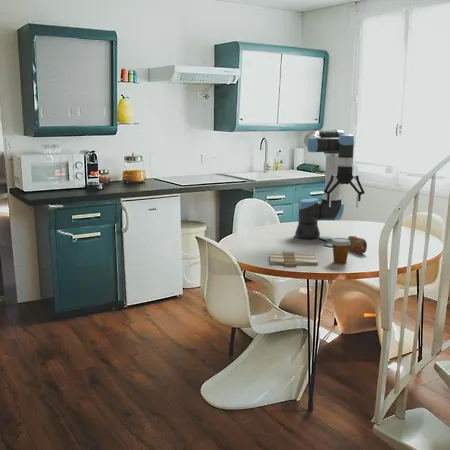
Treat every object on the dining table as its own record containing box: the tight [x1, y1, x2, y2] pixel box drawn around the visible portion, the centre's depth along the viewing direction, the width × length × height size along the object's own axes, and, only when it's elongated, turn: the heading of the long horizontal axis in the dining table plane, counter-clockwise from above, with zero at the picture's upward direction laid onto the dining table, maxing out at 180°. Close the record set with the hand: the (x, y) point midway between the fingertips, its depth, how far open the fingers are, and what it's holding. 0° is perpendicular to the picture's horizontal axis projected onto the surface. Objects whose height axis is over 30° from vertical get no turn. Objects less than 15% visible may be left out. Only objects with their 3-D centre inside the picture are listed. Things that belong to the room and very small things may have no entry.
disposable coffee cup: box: [331, 237, 350, 265], centre depth 278 cm, size 10×10×12 cm
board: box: [269, 251, 319, 268], centre depth 283 cm, size 22×24×2 cm
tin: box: [347, 235, 368, 255], centre depth 298 cm, size 15×3×8 cm, turn 24°
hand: (343, 207), depth 279 cm, fingers open, 13 cm apart
